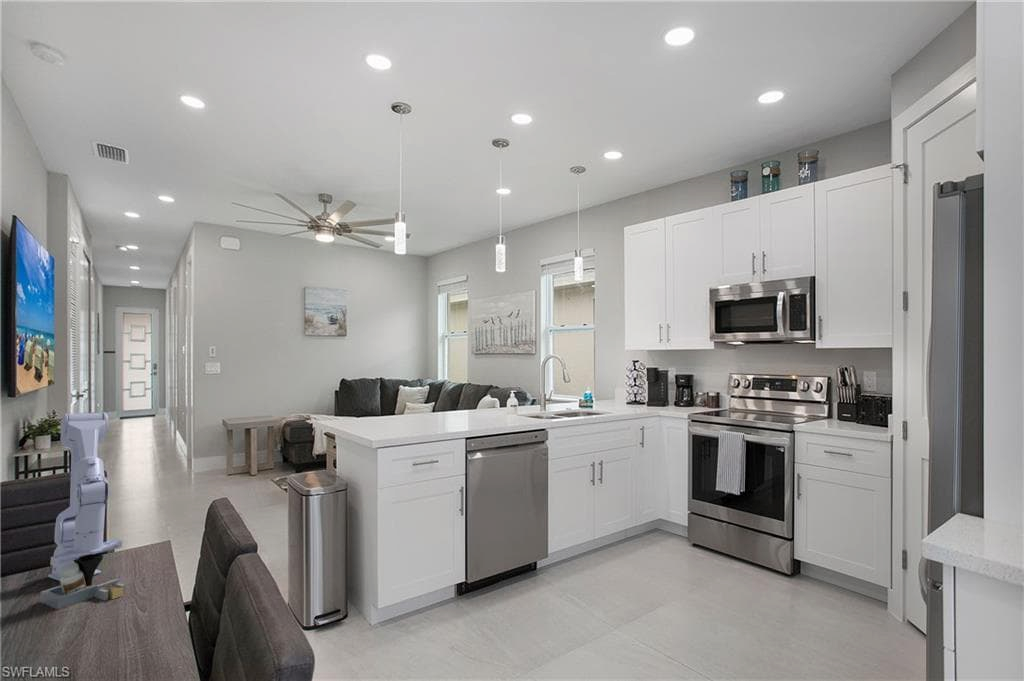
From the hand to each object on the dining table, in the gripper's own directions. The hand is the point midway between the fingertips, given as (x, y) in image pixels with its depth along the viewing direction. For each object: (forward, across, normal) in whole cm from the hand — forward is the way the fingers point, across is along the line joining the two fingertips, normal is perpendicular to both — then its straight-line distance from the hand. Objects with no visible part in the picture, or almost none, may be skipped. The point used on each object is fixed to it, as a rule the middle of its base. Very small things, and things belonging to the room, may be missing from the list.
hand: (86, 585), depth 127 cm
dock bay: (+2, -1, -2) cm, 3 cm away
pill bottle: (+2, -2, 0) cm, 3 cm away
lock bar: (+2, +2, -6) cm, 7 cm away
